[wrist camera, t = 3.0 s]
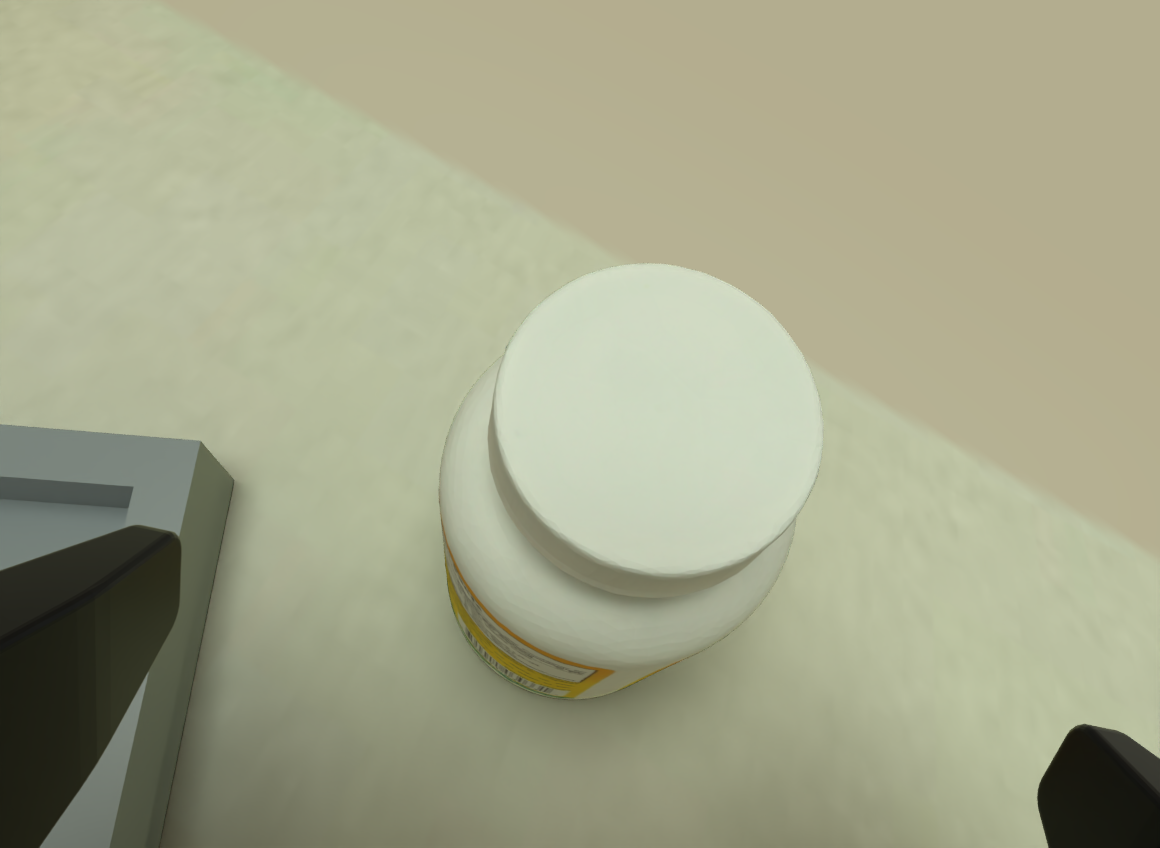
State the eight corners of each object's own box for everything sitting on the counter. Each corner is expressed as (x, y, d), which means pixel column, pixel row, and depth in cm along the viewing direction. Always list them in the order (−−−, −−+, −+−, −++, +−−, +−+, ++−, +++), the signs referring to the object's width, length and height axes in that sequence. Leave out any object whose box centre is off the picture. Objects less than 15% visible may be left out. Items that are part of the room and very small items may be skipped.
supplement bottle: (457, 716, 18) (441, 670, 9) (439, 467, 20) (411, 222, 11) (711, 684, 18) (931, 612, 10) (671, 448, 20) (824, 205, 11)
